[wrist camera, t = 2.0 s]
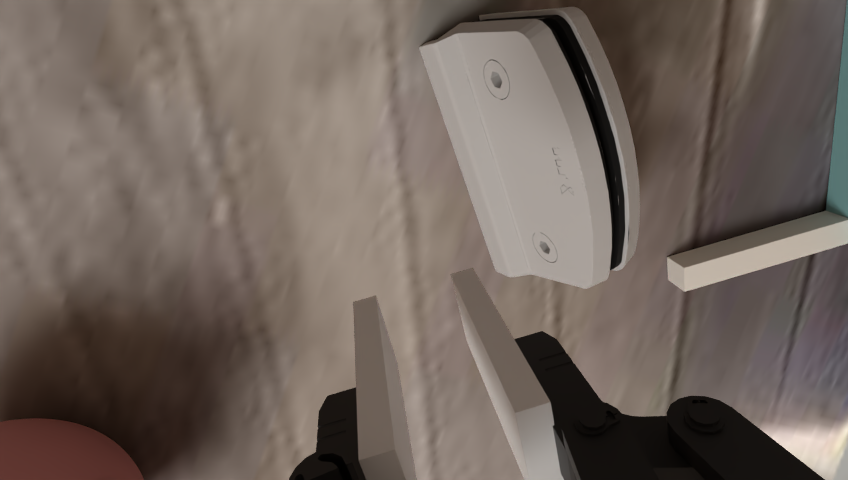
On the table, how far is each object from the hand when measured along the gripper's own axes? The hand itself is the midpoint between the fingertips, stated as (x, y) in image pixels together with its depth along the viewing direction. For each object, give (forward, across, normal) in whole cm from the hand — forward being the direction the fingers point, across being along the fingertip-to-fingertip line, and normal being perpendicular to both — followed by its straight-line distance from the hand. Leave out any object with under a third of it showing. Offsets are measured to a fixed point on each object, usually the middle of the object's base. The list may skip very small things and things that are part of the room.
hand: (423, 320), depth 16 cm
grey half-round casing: (+17, +9, 0) cm, 19 cm away
